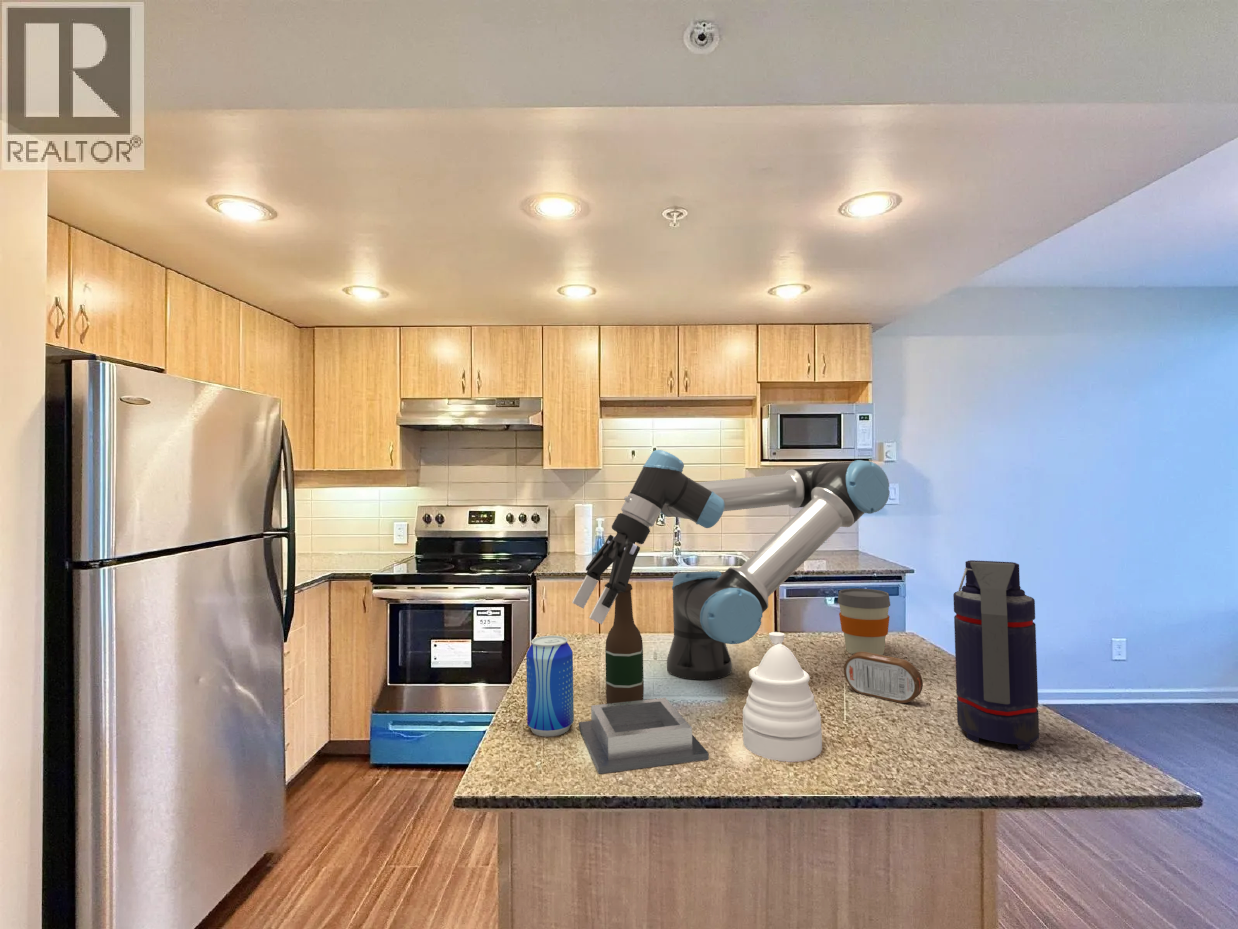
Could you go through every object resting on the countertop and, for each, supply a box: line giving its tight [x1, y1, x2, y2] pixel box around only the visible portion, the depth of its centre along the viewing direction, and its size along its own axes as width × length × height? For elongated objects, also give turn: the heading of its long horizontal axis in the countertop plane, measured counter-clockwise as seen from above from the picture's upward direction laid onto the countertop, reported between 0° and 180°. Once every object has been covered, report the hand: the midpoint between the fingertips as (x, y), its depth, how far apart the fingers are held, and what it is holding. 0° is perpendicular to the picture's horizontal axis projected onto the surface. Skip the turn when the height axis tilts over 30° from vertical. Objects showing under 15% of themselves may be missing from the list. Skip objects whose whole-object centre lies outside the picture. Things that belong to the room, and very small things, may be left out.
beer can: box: [525, 635, 575, 738], centre depth 110 cm, size 8×8×16 cm
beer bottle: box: [604, 583, 645, 704], centre depth 121 cm, size 8×8×24 cm
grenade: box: [952, 559, 1040, 751], centre depth 103 cm, size 14×12×30 cm
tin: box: [843, 652, 924, 704], centre depth 123 cm, size 15×3×8 cm, turn 47°
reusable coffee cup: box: [837, 588, 891, 656], centre depth 155 cm, size 13×13×15 cm
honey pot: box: [742, 631, 823, 763], centre depth 102 cm, size 13×13×18 cm
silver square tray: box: [578, 697, 710, 775], centre depth 103 cm, size 18×18×4 cm
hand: (586, 613), depth 121 cm, fingers open, 13 cm apart
